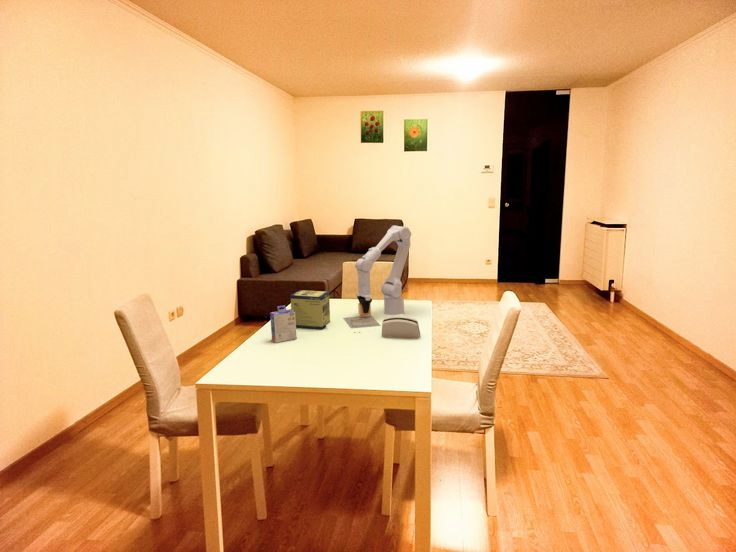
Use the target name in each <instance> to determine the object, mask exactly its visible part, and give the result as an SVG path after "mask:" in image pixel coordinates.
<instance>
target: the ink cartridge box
mask: <svg viewBox="0 0 736 552" xmlns="http://www.w3.org/2000/svg"><path fill="white" fill-rule="evenodd" d="M276 307H277V311H272V312H269V317H270V319H269V320H270V328H271V329H270V330H271V341H273V342H274V343H281V342H287V341H291V340H296V339H297V337H298V335H297V328H296V317H295V311H293V310H292V309H291V308H289V309H287V307H286V305H285V304H284V305H277V306H276ZM280 308H281V309H280Z"/></svg>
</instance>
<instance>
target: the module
mask: <svg viewBox="0 0 736 552" xmlns="http://www.w3.org/2000/svg"><path fill="white" fill-rule="evenodd" d="M357 304H358V315H359V316H372V312H371V311H372V309H371V307H372V306H371V304H370V307H369V312H368V313H364V312H363V307H362V303H359V302H358V303H357Z"/></svg>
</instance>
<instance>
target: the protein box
mask: <svg viewBox="0 0 736 552" xmlns="http://www.w3.org/2000/svg"><path fill="white" fill-rule="evenodd" d="M330 301H331V300H330V291H320V290H319V291H318V290H302V289H301V290H298V291H296V292H294V293H292V294H290V309H292V310H293V311H295V317H296V329H307V330H319V331H322V330H324V329H325V328H326V327H327V325H328V324H329V323H330V322H331V310H330V307H331V306H330Z"/></svg>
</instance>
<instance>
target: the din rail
mask: <svg viewBox="0 0 736 552" xmlns="http://www.w3.org/2000/svg"><path fill="white" fill-rule="evenodd" d="M373 318H374V317H373V316H372V317H371V318H359V319H350V323H351V325H352V326H353V327H360V326H371V325H377V322H378V321H377V320H376V321H374V319H375V318H374V319H373Z"/></svg>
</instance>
